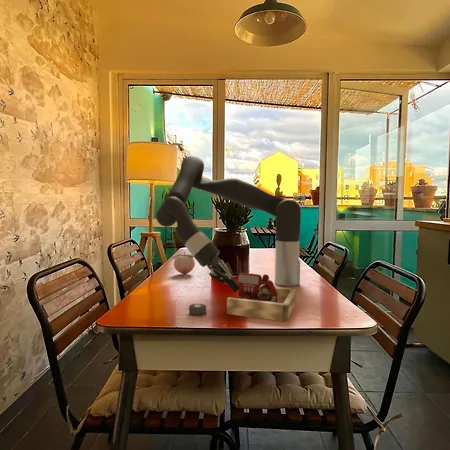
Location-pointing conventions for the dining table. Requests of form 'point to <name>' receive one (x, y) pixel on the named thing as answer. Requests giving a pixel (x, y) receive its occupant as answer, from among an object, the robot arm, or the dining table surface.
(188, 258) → the decorative fruit
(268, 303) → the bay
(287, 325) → the dining table surface
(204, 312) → the spare wheel
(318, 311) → the dining table surface
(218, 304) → the dining table surface
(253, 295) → the toy fire truck
